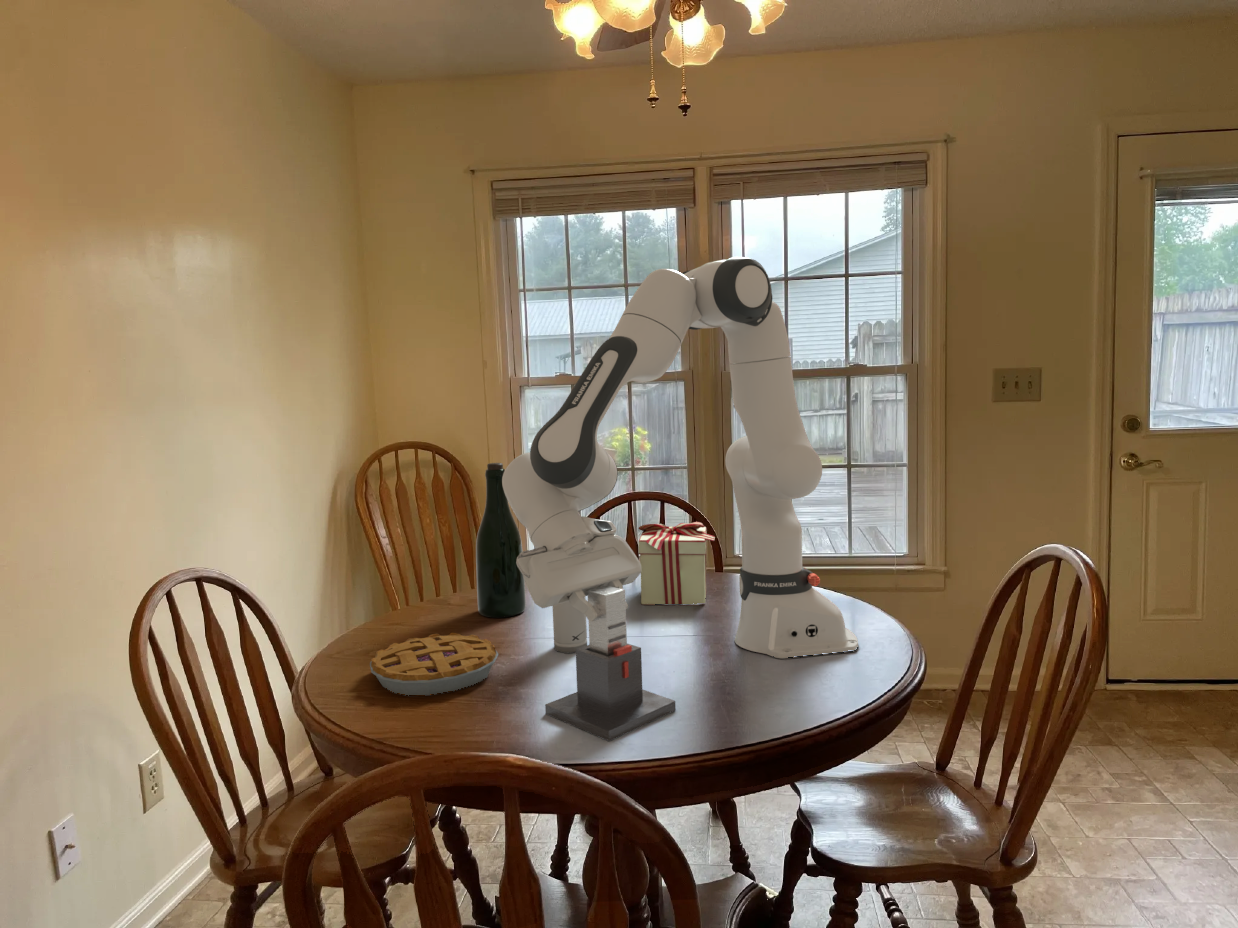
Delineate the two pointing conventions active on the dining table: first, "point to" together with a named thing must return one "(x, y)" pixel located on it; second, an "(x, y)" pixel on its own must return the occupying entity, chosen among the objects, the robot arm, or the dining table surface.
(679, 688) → the dining table surface
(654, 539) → the gift box
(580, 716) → the grey square socket stand
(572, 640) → the travel mug
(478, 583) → the green wine bottle
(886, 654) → the dining table surface
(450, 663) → the pie
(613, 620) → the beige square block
